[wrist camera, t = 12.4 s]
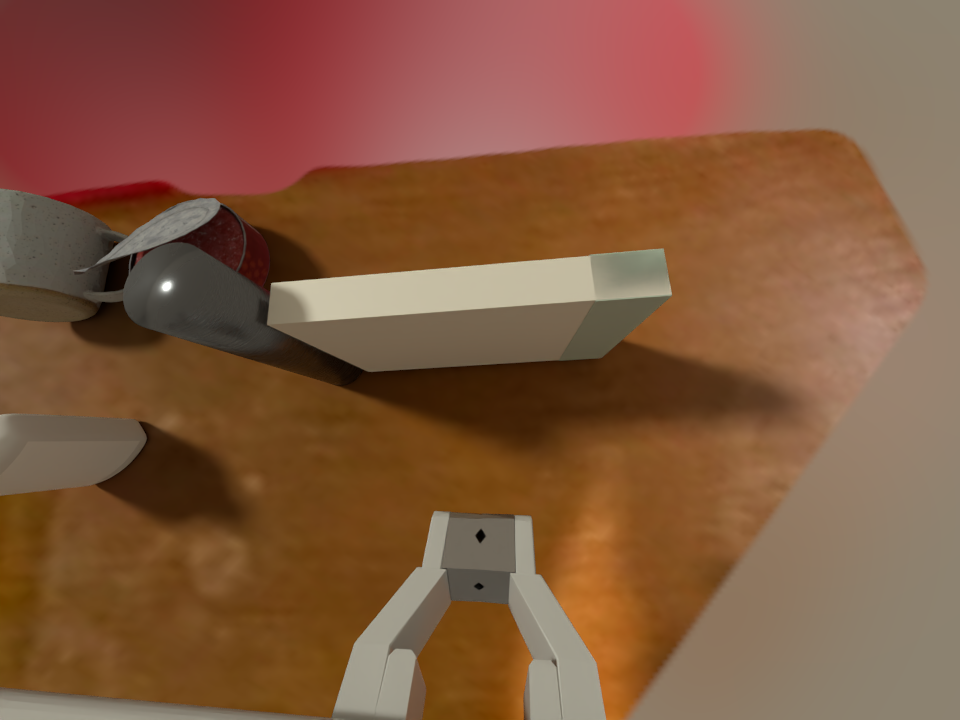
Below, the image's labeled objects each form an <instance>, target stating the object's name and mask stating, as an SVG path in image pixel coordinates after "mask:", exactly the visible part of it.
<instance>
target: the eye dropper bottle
mask: <svg viewBox="0 0 960 720" xmlns="http://www.w3.org/2000/svg"><path fill="white" fill-rule="evenodd" d="M146 440H147V437H146V434H145V432H144V430H143V429H142V427H141V425H140V424H139V422H138V421H137V420H135V419H122V418H103V417H83V416H61V415H39V414H3V415H0V496H1V495H10V494H19V493H29V492H37V491H46V490H55V489H64V488H73V487H82V486H90V485H94V484H97V483H100V482H102V481H105V480H107V479H109V478H111V477H113V476H114V475H116V474H117V473H119V472H120V471H122V470H123V469H124V468H125V467H127V466H128V465H129V464H130V463H131V462H132V461H133V460H134V459H135V457H136V456H137V455H138V454H139V452H140V451H141V450H142V448H143V446H144V445H145V443H146Z"/></svg>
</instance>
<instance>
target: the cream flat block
mask: <svg viewBox="0 0 960 720" xmlns="http://www.w3.org/2000/svg"><path fill="white" fill-rule="evenodd" d="M671 296H672V292H671V287H670V281H669V276H668V271H667V265H666V260H665V255H664V249H653V250H641V251H630V252H618V253H606V254H595V255H590V256H584V257H572V258H560V259H548V260H537V261H525V262H513V263H501V264H490V265H478V266H466V267H454V268H443V269H431V270H419V271H407V272H395V273H384V274H372V275H360V276H348V277H337V278H325V279H313V280H301V281H290V282H278V283H271V290H270V300H269V310H268V319H267V325H268V326H271V327H273V328H275V329H277V330H279V331H281V332H283V333H286V334H288V335H290V336H292V337H294V338H296V339H299V340H301V341H303V342H305V343H307V344H309V345H311V346H314V347H316V348H318V349H320V350H322V351H324V352H327V353H329V354H331V355H333V356H335V357H337V358H340V359H342V360H344V361H346V362H348V363H350V364H352V365H355V366H357V367H359V368H361V369H363V370H365V371H368V372H376V371H392V370H408V369H424V368H440V367H457V366H473V365H489V364H505V363H521V362H537V361H553V360H559V361H564V360H580V359H596V358H602V357H603V356H604V355H606V354H607V353H608V352H609V351H610V350H611V349H612V348H613V347H615V346H616V345H617V344H618V343H619V342H620V341H621V340H623V339H624V338H625V337H626V336H627V335H628V334H629V333H630V332H632V331H633V330H634V329H635V328H636V327H637V326H638V325H639V324H641V323H642V322H643V321H644V320H645V319H646V318H647V317H648V316H650V315H651V314H652V313H653V312H654V311H655V310H656V309H658V308H659V307H660V306H661V305H662V304H663V303H664V302H665V301H667V300H668V299H669V298H670V297H671Z"/></svg>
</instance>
